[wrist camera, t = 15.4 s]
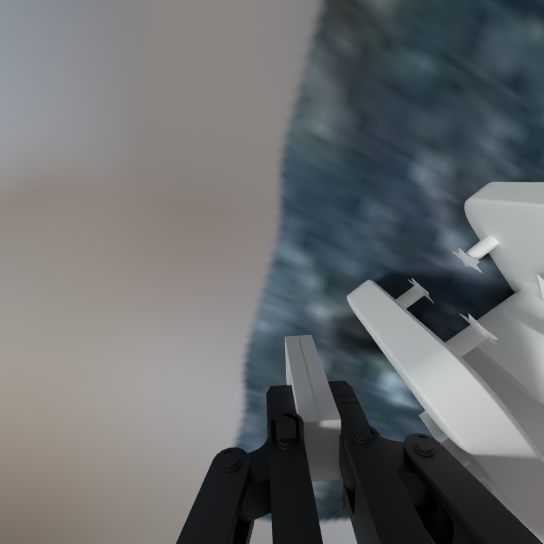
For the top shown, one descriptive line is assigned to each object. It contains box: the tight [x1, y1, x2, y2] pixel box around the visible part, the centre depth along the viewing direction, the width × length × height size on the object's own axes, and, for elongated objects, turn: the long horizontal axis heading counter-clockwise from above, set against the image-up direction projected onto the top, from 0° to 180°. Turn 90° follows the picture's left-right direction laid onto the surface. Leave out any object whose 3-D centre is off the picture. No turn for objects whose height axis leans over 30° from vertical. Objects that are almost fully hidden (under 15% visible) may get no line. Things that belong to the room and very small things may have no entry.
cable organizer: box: [347, 182, 544, 544], centre depth 16 cm, size 15×11×12 cm
